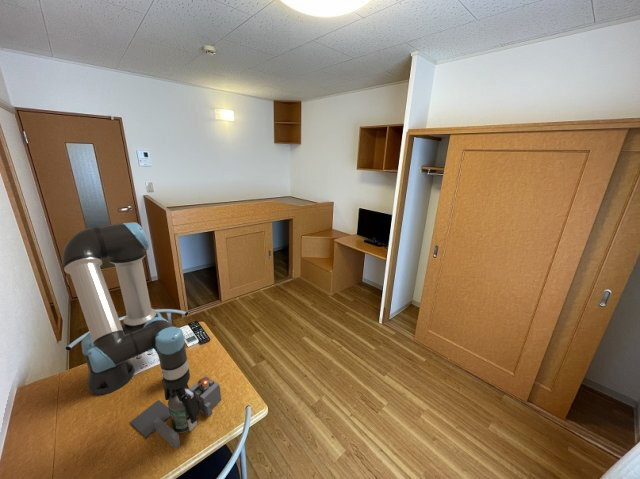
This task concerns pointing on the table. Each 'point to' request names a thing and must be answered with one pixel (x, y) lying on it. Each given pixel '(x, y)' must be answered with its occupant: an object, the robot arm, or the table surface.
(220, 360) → the table surface
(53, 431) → the table surface
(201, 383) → the plunger
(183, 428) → the canned tomato
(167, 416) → the mat
